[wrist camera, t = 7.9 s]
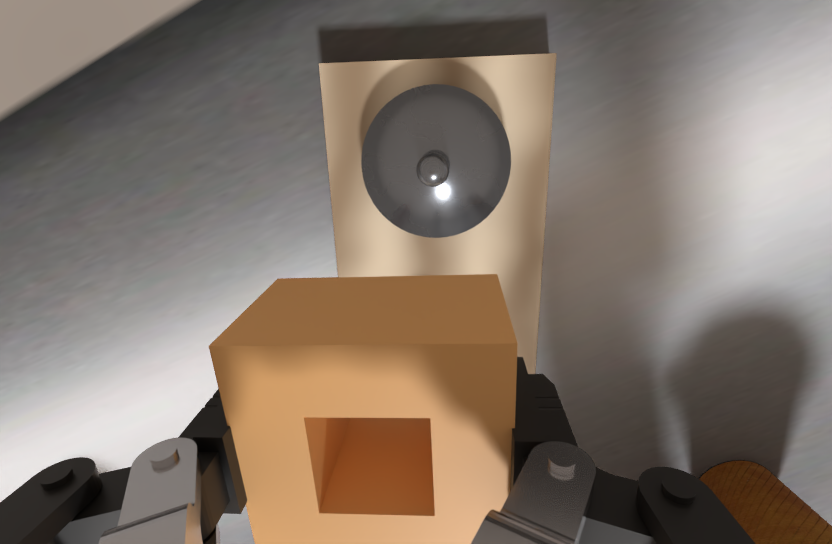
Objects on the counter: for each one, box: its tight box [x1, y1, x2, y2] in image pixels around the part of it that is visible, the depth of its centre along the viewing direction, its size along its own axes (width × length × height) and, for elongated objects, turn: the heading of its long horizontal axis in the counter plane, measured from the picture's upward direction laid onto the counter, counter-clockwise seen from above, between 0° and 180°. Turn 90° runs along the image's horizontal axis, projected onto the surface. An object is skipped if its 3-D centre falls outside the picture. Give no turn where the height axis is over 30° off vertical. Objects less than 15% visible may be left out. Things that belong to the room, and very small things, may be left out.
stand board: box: [319, 53, 556, 374], centre depth 29 cm, size 14×26×7 cm, turn 2°
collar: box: [209, 274, 518, 544], centre depth 12 cm, size 6×6×4 cm
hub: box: [361, 84, 511, 238], centre depth 26 cm, size 9×9×5 cm
